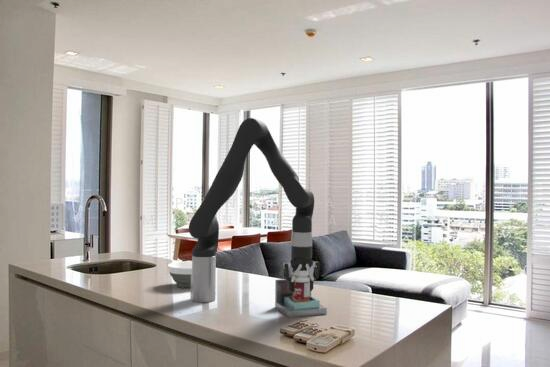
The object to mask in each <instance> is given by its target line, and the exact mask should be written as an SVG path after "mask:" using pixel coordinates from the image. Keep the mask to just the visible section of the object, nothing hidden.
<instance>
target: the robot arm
mask: <svg viewBox="0 0 550 367" xmlns="http://www.w3.org/2000/svg"><path fill="white" fill-rule="evenodd" d="M253 146H256V148H258V149H259V151H261V153H262V155H263V156H264V158H265V159H266V161H267V164H268V167H269V169H270V171H271V173H272V174H273V176H274V177H275V180H277V181H278V184H280V186H281V187H282V189H283V191H284V194H285V195H286V198H287V199H288V202H289V203H290V204H291V206H293V207H294V208H295V215H294V216H293V217H292V225H291V229H292V230H291V231H292V232H291V241H290V244H291V246H290V248H291V250H290V252H291V254H290V261H289V262H283V263H282V272H283V279H286V280H288V281H289V290H290V291H291V292H292V293H293V292H294V288H295V282H294V280H295V278H296V277H297V275H298V271H304V270H307V271H309V275H308V277H309V278H310V291H311V292H313V290H314V281H315V280H317V279H319V277H320V271H321V270H320V269H321V262H320V261H314V260H313V232H312V231H313V230H312V229H313V226H312V225H313V223H312V220H313V214H314V208H315V196H314V193H313V192H312V191H311V190H310V189H307V188H304V187H303V186H302V184H301V182H300V180H299V179H300V178H299V176H298V174H297V173H296V172H295V170H294V168H293V167H292V165H291V164H290V163H289V162H288V161H287V159H286V157H285V156H284V154H283V153H282V152H281V150H280V148H279V147H278V144H276V142H275V139H274V138H273V136H272V133H271V132H270V130H269V128H268V125H267V124H266V123H265V122H263V121H261V120H259V119H256V118H254V117H249V118H246V119H244V120H243V121H241V124H240V125H239V126H238V129H237V132H236V134H235V137H234V139H233V142H232V144H231V146H230V149H229V151H228V152H227V155H226V156H225V158H224V161H223V162H222V165H221V166H220V167H219V169H218V171H217V173H216V175H215V177H214V179H213V181H212V184H211V185H210V187H209V189H208V191H207V193H206V195H205V197H204V199H203V200H202V202H201V203H200V205H199V207H198V208H197V209H196V210H195V213H194V214H193V216H192V217H191V219H190V220H189V224H188V232H189V234H190V236H191V237H192V238H193V239H197V242H196V244H195V246H194V247H193V248H192V252H191V253H192V254H191V255H192V256H191V261H192V274H191V288H190V301H192V302H193V303H209V302H214V301H215V300H216V289H217V288H216V285H217V284H216V282H217V281H216V278H217V274H216V272H217V271H216V270H217V269H216V267H217V265H216V264H217V250H218V247H219V236H220V234H219V233H220V227H219V226H220V225H219V221H218V219H217V217H216V215H217V213H218V212H219V210H220V209H221V208H222V207H223V206H224V205H225V204H226V203H227V202H228V200H230V198H231V197H232V196H233V195H234V194H235V192H236V190H237V188H239V185H240V183H241V181H242V178H243V176H244V171H245V165H246V164H245V163H246V159H247V157H248V155H249V153H250V151H251V149H252V148H253ZM312 267H313V271H312V270H311V268H312ZM290 268H292V269H291V271H290ZM294 271H295V273H294Z"/></svg>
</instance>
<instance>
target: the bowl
mask: <svg viewBox="0 0 550 367" xmlns="http://www.w3.org/2000/svg"><path fill="white" fill-rule="evenodd" d="M167 270H168V273H169V275H170V276H171V278H172V280H173V281H174V283H175V284H176V286H177V287H178V286H180V287H179V288H181V287H186V288H185V289H191V274H192V260H189V261H175V262H171V263H169V264H167Z"/></svg>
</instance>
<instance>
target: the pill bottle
mask: <svg viewBox="0 0 550 367" xmlns="http://www.w3.org/2000/svg"><path fill="white" fill-rule="evenodd" d="M294 273H295V271H294ZM308 275H309V271H307V270H304V271H298V275H297V277H296V278H295V280H294V282H295V288H294V292H293V301H295V302H301V301H310V278H309V277H308Z"/></svg>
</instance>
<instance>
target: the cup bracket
mask: <svg viewBox="0 0 550 367" xmlns="http://www.w3.org/2000/svg"><path fill="white" fill-rule="evenodd" d="M274 284H275V288H274V290H275V292H274V293H275V294H274V295H275V298H274V299H275V300H274V301H275V302H274V306H275V308H276V309H277V310H278V311H280V312H281V313H283V314H284V315H285V316H287V317H288V318H296V317H297V318H298V317H299V318H300V317H308V316H318V315H327V314H328V312H327V310H328V309H327V307H326V306H324V305H323V304H320V300H319V299H318V298H315V297H314V296H312V291H310V301H301V302H295V301H293V293H292V292H291V291H290V290H289V281H288V280H286V279H284V278H282V279H281V278H280V279H275V283H274Z"/></svg>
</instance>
